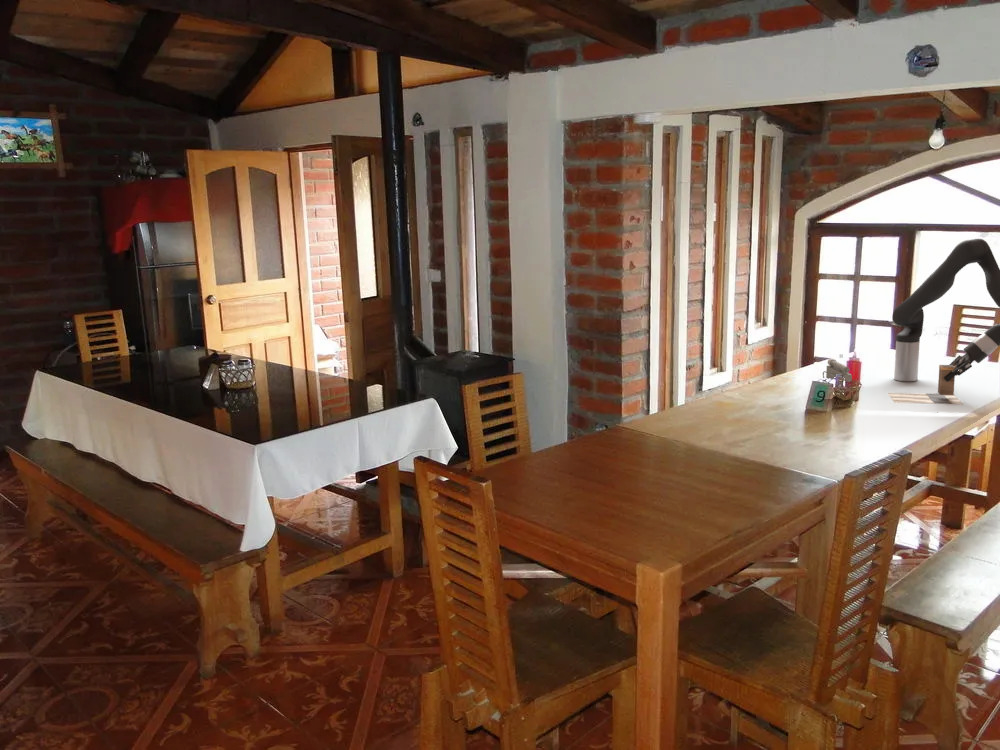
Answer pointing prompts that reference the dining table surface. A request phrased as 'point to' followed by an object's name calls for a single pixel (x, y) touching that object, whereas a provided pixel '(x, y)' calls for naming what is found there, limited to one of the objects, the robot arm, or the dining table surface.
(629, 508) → the dining table surface
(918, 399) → the subfloor panel
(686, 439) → the dining table surface
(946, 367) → the walnut block
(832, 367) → the geiger counter
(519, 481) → the dining table surface
